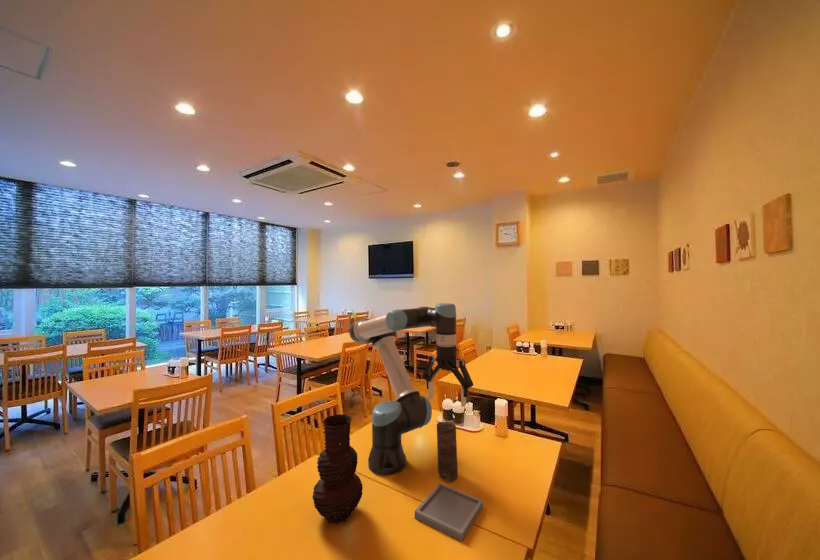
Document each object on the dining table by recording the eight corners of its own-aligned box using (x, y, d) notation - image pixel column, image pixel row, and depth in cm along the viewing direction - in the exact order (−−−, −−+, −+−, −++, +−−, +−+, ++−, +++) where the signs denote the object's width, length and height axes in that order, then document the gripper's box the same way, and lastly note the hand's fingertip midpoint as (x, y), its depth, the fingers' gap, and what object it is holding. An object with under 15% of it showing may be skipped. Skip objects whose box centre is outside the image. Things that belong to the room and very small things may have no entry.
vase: (321, 497, 108) (320, 409, 108) (366, 498, 107) (365, 409, 107) (305, 534, 92) (303, 431, 92) (357, 534, 92) (356, 431, 92)
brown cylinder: (434, 480, 116) (434, 425, 116) (440, 468, 123) (439, 417, 123) (455, 484, 113) (454, 429, 113) (459, 473, 120) (459, 420, 120)
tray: (414, 518, 98) (414, 510, 98) (439, 489, 111) (439, 482, 111) (462, 541, 89) (462, 533, 89) (483, 507, 102) (483, 500, 102)
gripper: (412, 343, 122) (413, 398, 122) (473, 350, 108) (474, 412, 108) (423, 339, 128) (423, 392, 128) (481, 346, 114) (482, 405, 114)
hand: (446, 401), depth 118 cm, fingers open, 13 cm apart
